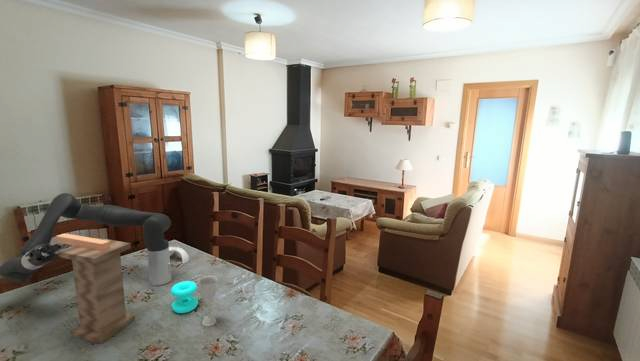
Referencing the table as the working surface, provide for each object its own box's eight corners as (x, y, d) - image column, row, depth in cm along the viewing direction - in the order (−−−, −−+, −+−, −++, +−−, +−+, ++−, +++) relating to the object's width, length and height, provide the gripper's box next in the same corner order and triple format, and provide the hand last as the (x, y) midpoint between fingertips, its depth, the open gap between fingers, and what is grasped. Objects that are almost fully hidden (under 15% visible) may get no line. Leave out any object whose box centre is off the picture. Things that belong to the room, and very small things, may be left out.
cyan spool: (165, 288, 125) (185, 277, 134) (166, 310, 127) (186, 298, 136) (182, 294, 121) (202, 283, 130) (184, 317, 123) (203, 304, 132)
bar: (56, 242, 113) (55, 235, 112) (65, 239, 116) (64, 233, 115) (102, 250, 107) (101, 244, 106) (110, 247, 110) (109, 240, 109)
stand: (69, 334, 111) (58, 251, 105) (105, 312, 124) (97, 237, 118) (103, 344, 107) (93, 258, 101) (137, 320, 120) (130, 243, 114)
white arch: (147, 258, 174) (146, 246, 173) (165, 251, 185) (164, 239, 183) (178, 267, 165) (178, 254, 164) (195, 258, 176) (194, 246, 174)
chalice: (222, 319, 122) (221, 277, 119) (211, 329, 116) (209, 285, 113) (207, 314, 125) (205, 273, 121) (195, 325, 118) (193, 282, 115)
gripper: (11, 255, 112) (35, 239, 107) (54, 241, 126) (77, 226, 121) (21, 273, 113) (45, 258, 107) (63, 257, 126) (86, 243, 121)
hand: (62, 241), depth 114 cm, fingers open, 8 cm apart
